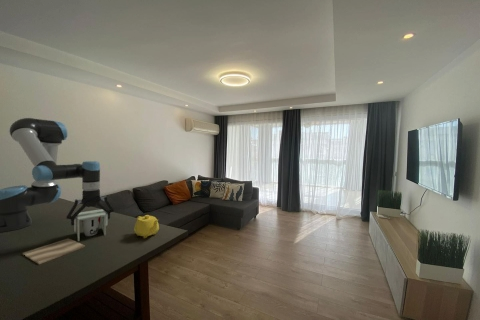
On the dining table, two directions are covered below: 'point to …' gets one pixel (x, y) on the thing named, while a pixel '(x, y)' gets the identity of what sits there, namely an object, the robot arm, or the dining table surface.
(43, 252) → the mat
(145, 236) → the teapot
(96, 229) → the cup
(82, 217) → the cover
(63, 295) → the dining table surface
